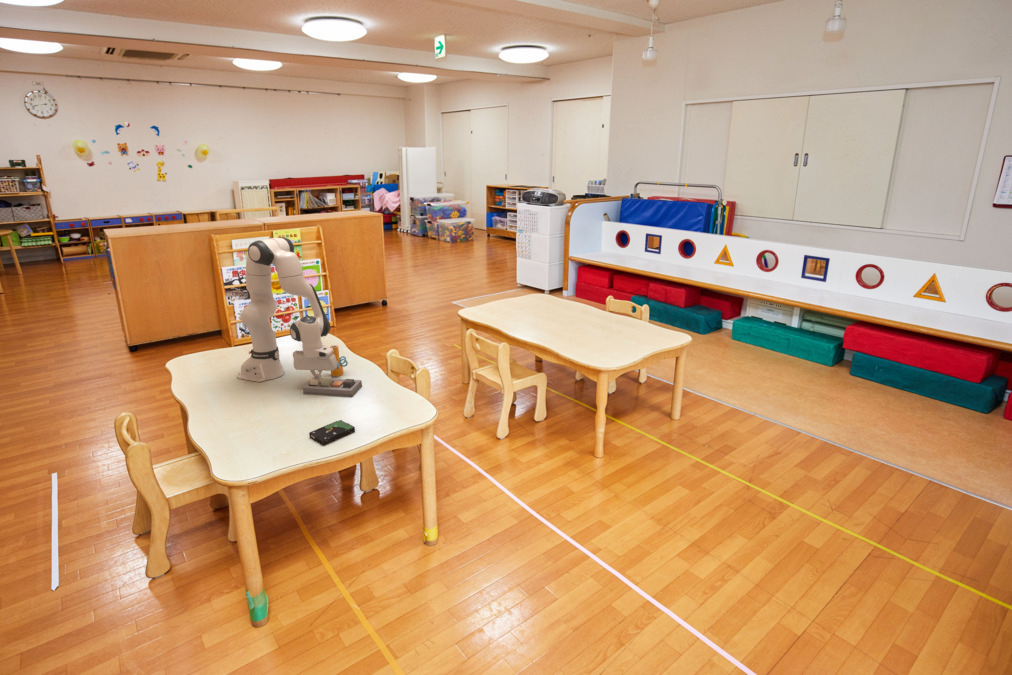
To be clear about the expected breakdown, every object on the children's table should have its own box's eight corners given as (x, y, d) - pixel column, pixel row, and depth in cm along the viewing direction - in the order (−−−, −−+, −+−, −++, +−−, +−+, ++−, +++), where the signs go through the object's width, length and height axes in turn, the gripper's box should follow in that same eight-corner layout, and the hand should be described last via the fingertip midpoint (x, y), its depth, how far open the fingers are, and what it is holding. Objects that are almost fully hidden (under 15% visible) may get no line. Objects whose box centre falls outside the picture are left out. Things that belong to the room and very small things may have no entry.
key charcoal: (343, 386, 260) (342, 382, 259) (346, 383, 264) (346, 378, 263) (351, 387, 259) (350, 382, 259) (354, 383, 263) (353, 379, 262)
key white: (310, 384, 262) (309, 380, 261) (314, 381, 266) (313, 376, 265) (317, 385, 262) (317, 380, 261) (321, 381, 265) (320, 377, 264)
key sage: (321, 385, 262) (320, 380, 261) (324, 382, 265) (324, 377, 264) (328, 385, 261) (328, 381, 260) (332, 382, 265) (331, 377, 264)
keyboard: (303, 393, 260) (302, 387, 259) (315, 383, 271) (314, 377, 270) (352, 397, 256) (351, 390, 255) (362, 386, 268) (361, 380, 267)
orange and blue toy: (352, 370, 286) (349, 343, 280) (345, 379, 276) (342, 350, 271) (329, 369, 287) (326, 342, 282) (321, 378, 277) (317, 350, 272)
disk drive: (323, 447, 216) (355, 432, 226) (322, 441, 215) (355, 426, 225) (309, 438, 222) (341, 424, 233) (308, 432, 221) (340, 418, 232)
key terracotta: (332, 388, 261) (332, 384, 260) (336, 385, 265) (335, 381, 264) (340, 389, 261) (339, 384, 260) (343, 386, 264) (343, 381, 263)
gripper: (288, 353, 257) (293, 380, 262) (331, 353, 254) (334, 381, 259) (295, 348, 263) (299, 374, 267) (336, 348, 260) (340, 375, 265)
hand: (317, 378), depth 263 cm, fingers closed
